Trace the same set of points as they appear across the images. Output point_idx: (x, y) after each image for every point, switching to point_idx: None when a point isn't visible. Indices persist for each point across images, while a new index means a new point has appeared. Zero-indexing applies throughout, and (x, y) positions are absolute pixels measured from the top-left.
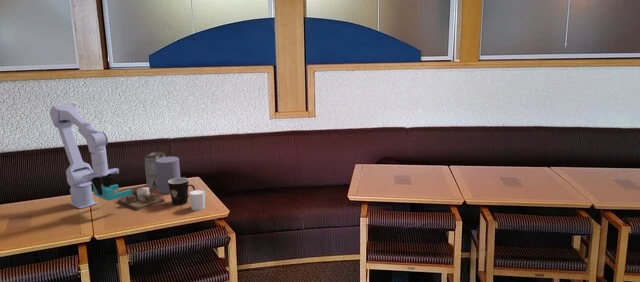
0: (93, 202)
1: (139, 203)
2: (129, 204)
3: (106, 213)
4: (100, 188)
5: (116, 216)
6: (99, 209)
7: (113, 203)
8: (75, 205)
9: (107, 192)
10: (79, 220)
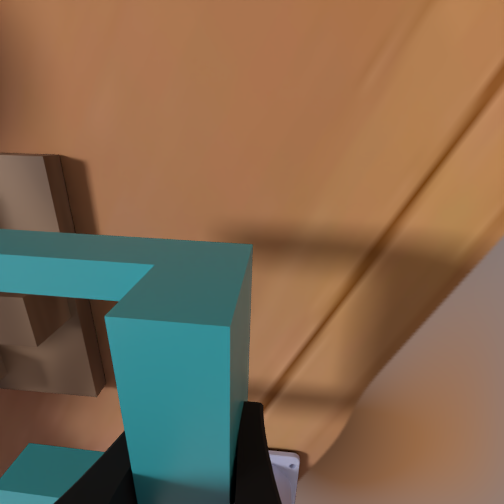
0: None
1: (1, 225)
2: None
3: None
4: (253, 492)
5: (227, 175)
6: None
7: None
8: (292, 494)
9: (235, 307)
10: (419, 319)
